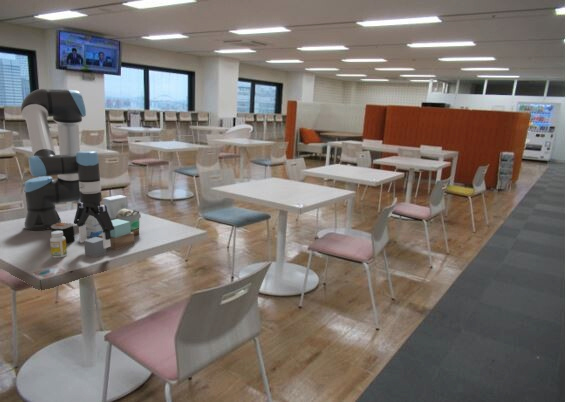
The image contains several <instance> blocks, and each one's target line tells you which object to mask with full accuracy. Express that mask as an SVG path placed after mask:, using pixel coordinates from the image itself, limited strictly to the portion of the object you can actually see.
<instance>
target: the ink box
mask: <svg viewBox="0 0 566 402" xmlns="http://www.w3.org/2000/svg"><path fill="white" fill-rule="evenodd" d="M85 225H86V232H87V238H88V237H89V238H94V237H98V235H101V234H102V227H101V226H100V224H99V222H98V221H97V219H96V218H94V216H91V215H89V217H88V218H87V220H86V222H85Z"/></svg>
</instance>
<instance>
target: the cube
mask: <svg viewBox="0 0 566 402" xmlns="http://www.w3.org/2000/svg"><path fill="white" fill-rule="evenodd" d="M83 244H84V255H85V256H89V257H90V258H91V257H92V258H97V257H100V256H103V255H105V254H107V248H104V247H103V238H99V237H94V238H93V237H89V238H87V240H84V242H83Z"/></svg>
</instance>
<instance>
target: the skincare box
mask: <svg viewBox="0 0 566 402" xmlns="http://www.w3.org/2000/svg"><path fill="white" fill-rule="evenodd" d="M102 201H103V202H102V204H103V205H102V206H104V205H106V207H107V212H108V214H109V217H110V219H111V220H115V219H116V215H117V213H118V212H119V211H120V210H121V209H128V196H125V195H122V194H119V195H118V194H117V195H112V196H107V197H102ZM128 210H129V209H128Z"/></svg>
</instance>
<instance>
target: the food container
mask: <svg viewBox="0 0 566 402" xmlns="http://www.w3.org/2000/svg"><path fill="white" fill-rule="evenodd" d="M141 218H142V215H141V213H140V211H138V210H136V209H133V210H132V211H131V213H130V214H126V215H125V216H119V219H120V220H125V221H129V222H130V227H131V232H133V233H134V237H137V236H139V235H140V219H141Z"/></svg>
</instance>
